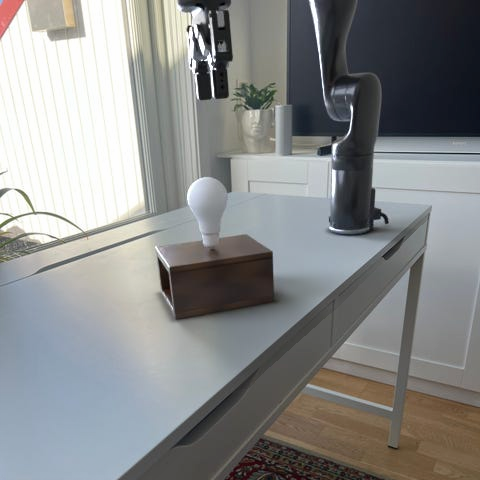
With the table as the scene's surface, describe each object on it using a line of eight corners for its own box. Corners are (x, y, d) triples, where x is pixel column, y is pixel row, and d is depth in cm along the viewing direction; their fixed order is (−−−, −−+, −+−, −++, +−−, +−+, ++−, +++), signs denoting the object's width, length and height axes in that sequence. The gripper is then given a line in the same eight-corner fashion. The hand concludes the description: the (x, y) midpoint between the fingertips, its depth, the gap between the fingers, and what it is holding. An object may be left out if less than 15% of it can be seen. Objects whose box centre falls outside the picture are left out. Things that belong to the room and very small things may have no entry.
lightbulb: (192, 245, 78) (185, 175, 74) (229, 242, 79) (225, 173, 74) (192, 255, 73) (184, 181, 68) (232, 252, 73) (227, 178, 69)
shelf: (248, 278, 86) (246, 234, 83) (274, 301, 76) (272, 251, 73) (161, 293, 82) (155, 246, 79) (175, 319, 72) (169, 267, 68)
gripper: (245, -47, 60) (252, 96, 67) (212, -20, 72) (222, 98, 79) (186, -47, 58) (201, 100, 64) (163, -20, 70) (177, 102, 77)
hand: (212, 99), depth 72 cm, fingers open, 8 cm apart
